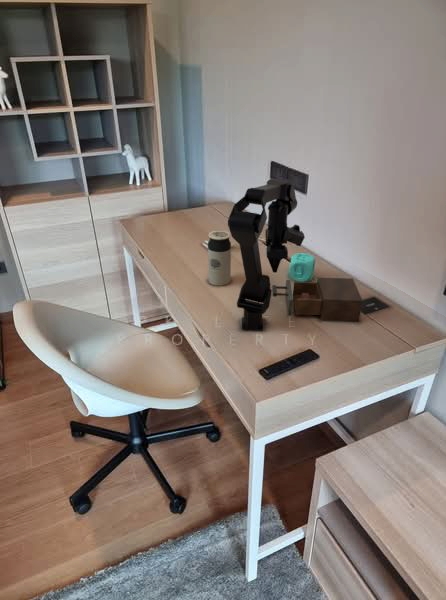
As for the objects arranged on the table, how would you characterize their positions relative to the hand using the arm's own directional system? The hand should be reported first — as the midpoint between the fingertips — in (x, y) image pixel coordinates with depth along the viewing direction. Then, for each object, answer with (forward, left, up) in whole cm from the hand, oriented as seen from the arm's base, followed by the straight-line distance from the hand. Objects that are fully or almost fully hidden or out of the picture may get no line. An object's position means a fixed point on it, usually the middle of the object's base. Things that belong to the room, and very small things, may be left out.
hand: (274, 267), depth 138 cm
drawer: (-5, -7, -11) cm, 14 cm away
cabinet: (-5, -20, -12) cm, 24 cm away
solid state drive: (-2, -32, -13) cm, 35 cm away
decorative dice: (+17, -11, -12) cm, 24 cm away
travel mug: (+12, +19, -12) cm, 25 cm away
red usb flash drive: (-5, -10, -10) cm, 15 cm away
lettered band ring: (+41, +20, -12) cm, 47 cm away
